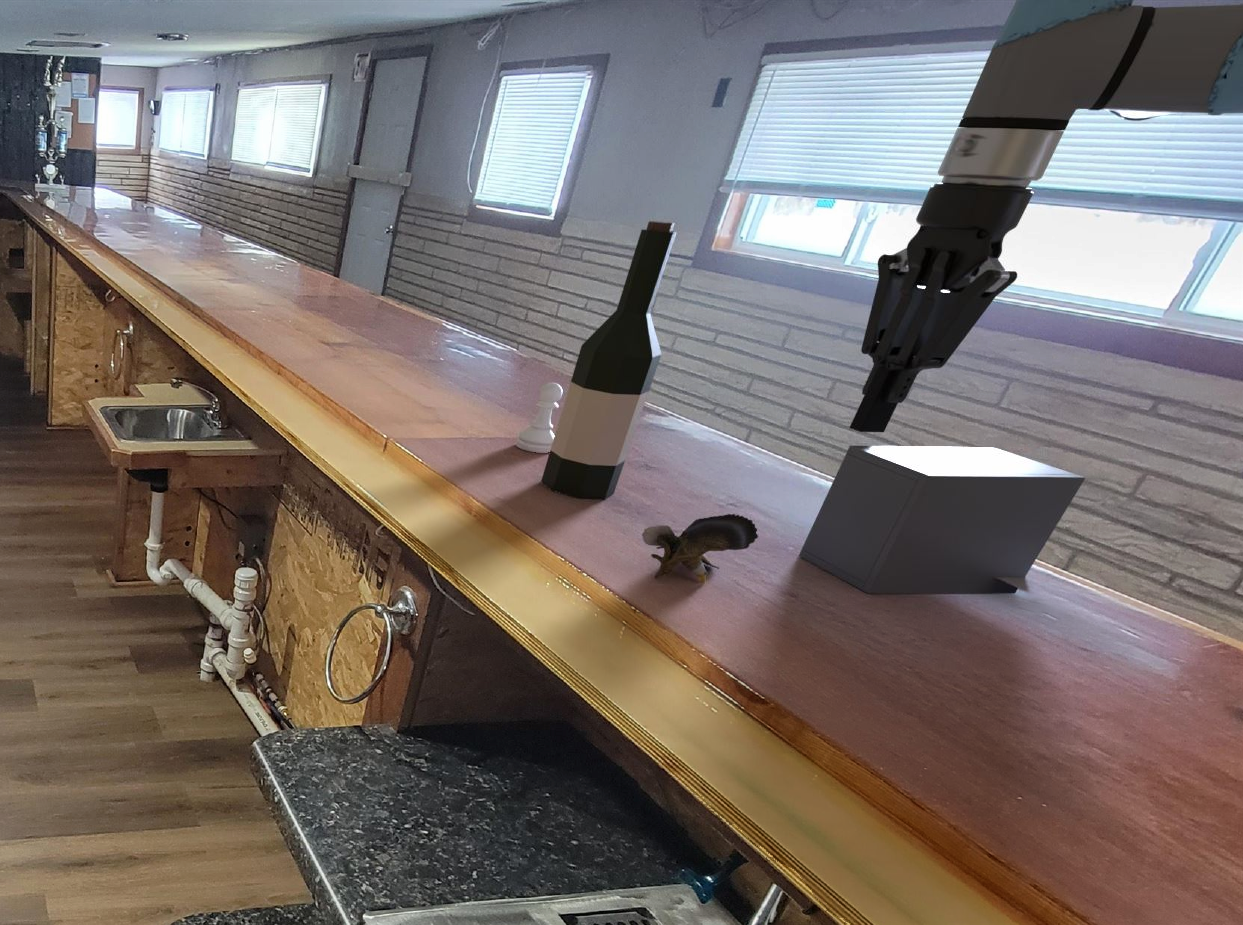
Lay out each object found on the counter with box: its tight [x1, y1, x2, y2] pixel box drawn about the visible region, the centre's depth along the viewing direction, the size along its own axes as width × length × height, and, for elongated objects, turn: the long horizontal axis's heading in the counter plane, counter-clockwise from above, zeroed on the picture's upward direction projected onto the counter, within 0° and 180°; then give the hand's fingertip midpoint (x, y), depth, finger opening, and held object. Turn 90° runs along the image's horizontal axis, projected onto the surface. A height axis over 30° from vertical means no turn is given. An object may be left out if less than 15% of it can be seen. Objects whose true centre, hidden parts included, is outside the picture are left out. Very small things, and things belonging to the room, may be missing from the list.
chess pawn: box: [515, 382, 563, 454], centre depth 124 cm, size 5×5×9 cm
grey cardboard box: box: [798, 445, 1086, 595], centre depth 90 cm, size 16×9×12 cm, turn 95°
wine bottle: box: [540, 220, 677, 500], centre depth 105 cm, size 8×8×30 cm
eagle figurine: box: [641, 513, 759, 584], centre depth 89 cm, size 8×7×9 cm
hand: (866, 429), depth 96 cm, fingers closed
